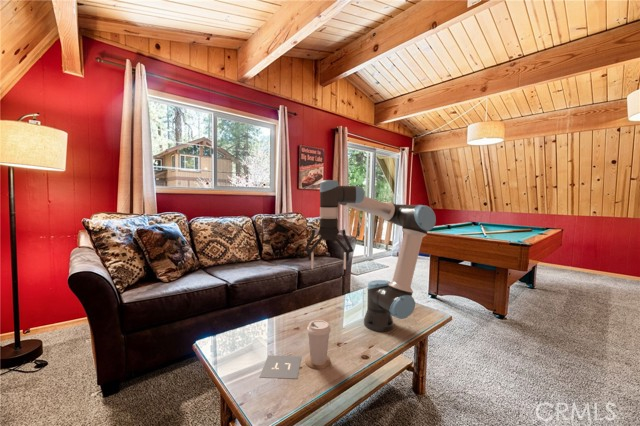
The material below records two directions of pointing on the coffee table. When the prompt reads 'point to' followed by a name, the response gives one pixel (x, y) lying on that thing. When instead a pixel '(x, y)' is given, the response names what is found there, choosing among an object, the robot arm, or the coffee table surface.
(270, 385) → the coffee table surface
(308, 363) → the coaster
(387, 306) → the robot arm
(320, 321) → the coffee cup
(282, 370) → the tile
